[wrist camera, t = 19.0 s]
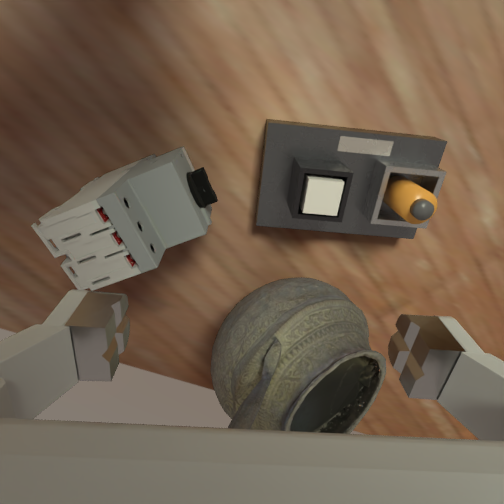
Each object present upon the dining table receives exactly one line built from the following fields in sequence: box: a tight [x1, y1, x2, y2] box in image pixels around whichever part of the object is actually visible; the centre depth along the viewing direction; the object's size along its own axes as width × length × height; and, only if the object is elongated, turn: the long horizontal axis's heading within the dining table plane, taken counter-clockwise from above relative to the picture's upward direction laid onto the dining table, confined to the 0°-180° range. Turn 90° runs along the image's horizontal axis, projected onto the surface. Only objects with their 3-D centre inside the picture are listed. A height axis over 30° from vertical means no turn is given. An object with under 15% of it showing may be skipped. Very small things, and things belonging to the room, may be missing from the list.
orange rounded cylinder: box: [382, 176, 437, 224], centre depth 38 cm, size 4×4×7 cm
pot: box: [211, 278, 386, 434], centre depth 41 cm, size 21×21×25 cm
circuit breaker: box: [31, 146, 218, 291], centre depth 37 cm, size 8×14×15 cm, turn 111°
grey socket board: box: [255, 119, 447, 239], centre depth 40 cm, size 12×20×8 cm, turn 84°
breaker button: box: [299, 173, 344, 216], centre depth 38 cm, size 4×4×5 cm
